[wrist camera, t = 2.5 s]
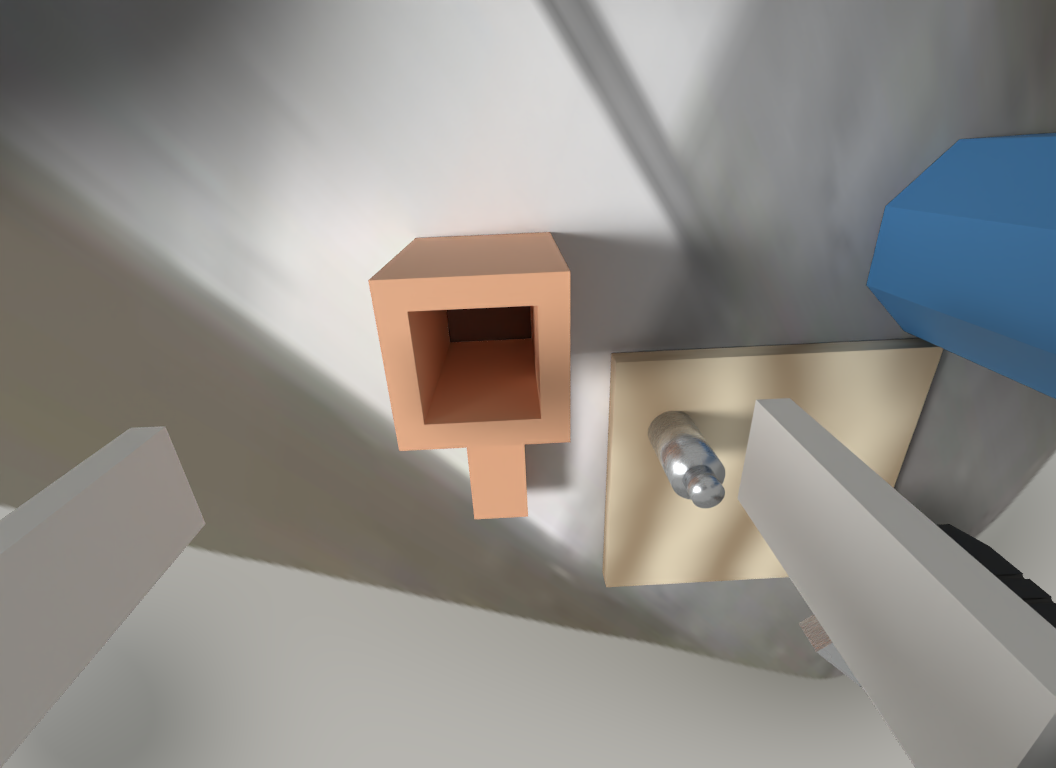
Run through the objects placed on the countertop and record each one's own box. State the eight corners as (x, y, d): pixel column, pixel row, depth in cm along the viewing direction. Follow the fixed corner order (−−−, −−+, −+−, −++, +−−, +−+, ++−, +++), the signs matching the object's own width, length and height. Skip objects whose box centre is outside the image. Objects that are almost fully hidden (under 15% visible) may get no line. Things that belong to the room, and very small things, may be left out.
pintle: (646, 451, 25) (677, 519, 21) (649, 411, 24) (682, 473, 20) (691, 449, 25) (732, 516, 21) (696, 409, 24) (741, 470, 20)
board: (602, 571, 31) (606, 587, 30) (611, 353, 24) (616, 362, 23) (850, 558, 31) (863, 572, 30) (925, 338, 24) (944, 346, 23)
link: (554, 485, 28) (569, 602, 20) (449, 490, 28) (428, 610, 20) (549, 232, 22) (570, 271, 14) (415, 238, 21) (368, 280, 14)
